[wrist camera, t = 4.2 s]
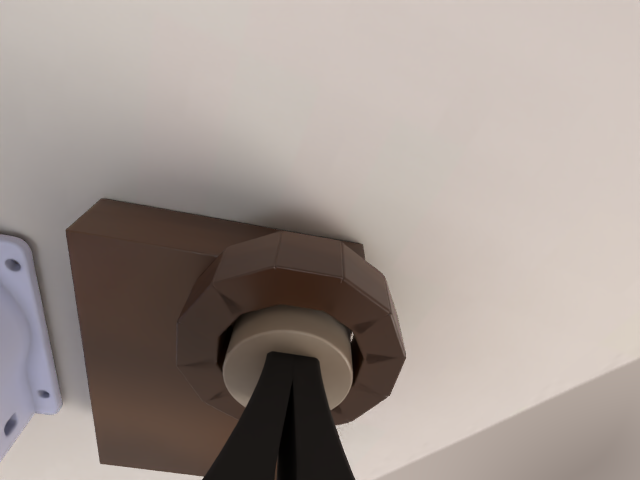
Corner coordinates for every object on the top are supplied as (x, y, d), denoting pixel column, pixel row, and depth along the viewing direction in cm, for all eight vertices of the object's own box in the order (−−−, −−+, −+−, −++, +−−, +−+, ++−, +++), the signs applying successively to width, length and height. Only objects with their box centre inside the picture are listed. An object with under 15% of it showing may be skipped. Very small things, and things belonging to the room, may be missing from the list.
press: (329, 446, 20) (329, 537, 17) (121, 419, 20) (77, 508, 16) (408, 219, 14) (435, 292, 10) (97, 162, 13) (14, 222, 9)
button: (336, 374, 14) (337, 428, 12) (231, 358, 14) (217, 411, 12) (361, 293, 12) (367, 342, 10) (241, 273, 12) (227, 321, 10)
